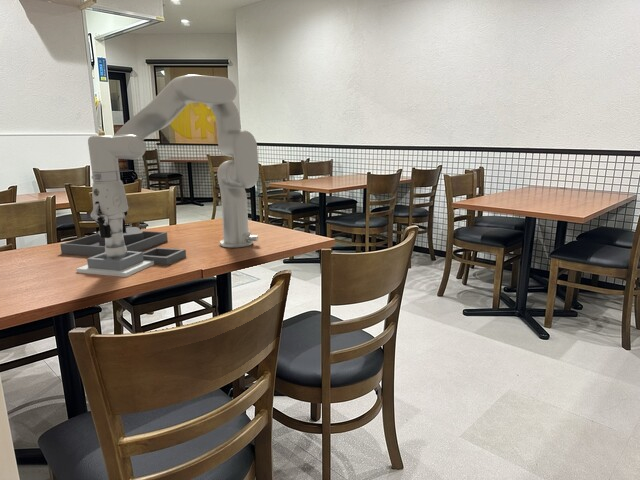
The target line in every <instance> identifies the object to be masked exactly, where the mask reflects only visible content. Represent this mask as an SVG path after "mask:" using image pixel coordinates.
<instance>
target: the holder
mask: <svg viewBox="0 0 640 480" xmlns="http://www.w3.org/2000/svg"><path fill="white" fill-rule="evenodd" d="M142 252H143V258H144V260H151V261H154V265H158V266H160V265H161V266H169V265H172V264H173V263H175V262H178V261H180V260H182V259H184V258H186V257H187V250H186V249H182V248H181V249H180V248H171V247H170V248H168V247H167V248H166V247H156V246H155V247H154V248H153V247H152V248H150V249H147V250H145V251H142Z"/></svg>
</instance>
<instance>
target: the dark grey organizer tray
mask: <svg viewBox="0 0 640 480" xmlns="http://www.w3.org/2000/svg"><path fill="white" fill-rule="evenodd" d="M142 231H143V237H144V240H141V241H138V242H136V243H133V244H130V245H127V246H126V248H127V251H134V252H144V251H147V250H149V249H152V248H153V247H156V246H158V245H160V244H164V243H166V242H169V241H168V240H169V239H168V232H166V231H151V230H150V231H148V230H142ZM59 244H60V253H61V254H63V255H65V254H66V255H74V256H75V255H78V256H89V257H93V256H96V255H99V254H102V253H104V252H105V246H100V245H99V238H98V232H96V233H94V234H91V235H87V236H83V237H80V238H76V239H72V240H70V241H67V242H62V243H59Z"/></svg>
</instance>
